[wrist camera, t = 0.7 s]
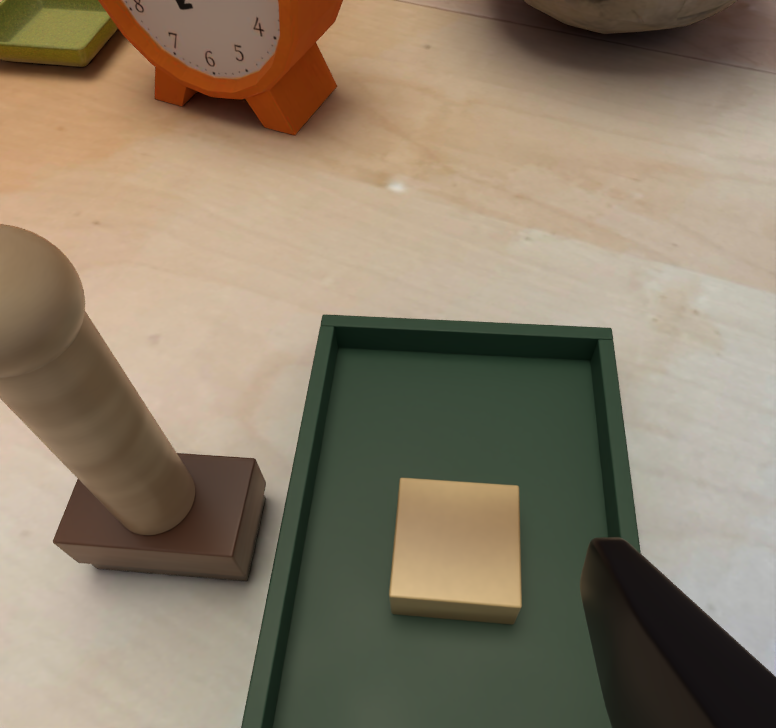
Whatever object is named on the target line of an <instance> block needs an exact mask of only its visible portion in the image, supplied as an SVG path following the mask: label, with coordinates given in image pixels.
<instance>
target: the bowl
mask: <svg viewBox="0 0 776 728" xmlns="http://www.w3.org/2000/svg"><path fill="white" fill-rule="evenodd" d="M524 1H525V2H526V3H527V4H529V5H530V6H532V7H534V8H536V9H538V10H539V11H541V12H543V13H545V14H547V15H549V16H551V17H553V18H555V19H557V20H559V21H560V22H562V23H564V24H567V25H570V26H574V27H578V28H582V29H586V30H590V31H594V32H598V33H602V34H612V33H626V32H641V31H651V30H661V29H671V28H677V27H683V26H688V25H690V24H693V23H696V22H698V21H701V20H703V19H706V18H708V17H711V16H712V15H714V14H716V13H718V12H720V11H722V10H724V9H726V8H728V7H729V6H730V5H732V4H733V3H734V2H736V1H737V0H524Z"/></svg>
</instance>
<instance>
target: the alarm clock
mask: <svg viewBox="0 0 776 728" xmlns="http://www.w3.org/2000/svg"><path fill="white" fill-rule="evenodd" d="M98 1H99V2H100V4H101V5H102V6H103V8H104V9H105V11H106V12H107V13H108V15H109V16H110V18H111V19H112V20H113V22H114V23H115V24H116V26H117V27H118V29H119V30H120V31H121V33H122V34H123V36H124V37H125V38H126V39H127V40H128V41H129V42H130V43H131V44H132V45H133V46H134V47H135V48H136V49H137V50H138V51H139V52H140V53H141V54H142V55H143V56H144V57H145V58H146V59H147V60H148V61H149V62H150V63H151V64H152V65H154V66H155V67H156V68H155V99H157V100H161V101H164V102H168V103H172V104H176V105H179V106H183V105H184V104H185V103H186V102H187V101H188V100H189V99H190V98H191V97H192V96H193V95H195V94H196V93H197V92H200V93H203V94H205V95H208V96H210V97H216V98H228V99H246V101H247V102H248V104H249V105H250V107H251V108H252V110H253V111H254V113H255V114H256V116H257V117H258V119H259V120H260V122H261V123H262V125H263V126H264V127H265V128H269V129H273V130H276V131H280V132H284V133H288V134H292V135H296V133H297V132H298V131H299V130H300V129H301V128H302V126H303V125H304V124H305V123H306V122H307V121H308V119H309V118H310V117H311V116H312V115H313V114H314V112H315V111H316V110H317V109H318V108H319V107H320V105H321V104H322V103H323V102H324V101H325V100H326V99H327V97H328V96H329V95H330V94H331V93H332V92H333V90H334V89H335V88H336V87H337V85H336V83H335V81H334V79H333V77H332V75H331V72H330V70H329V68H328V66H327V64H326V62H325V60H324V58H323V56H322V54H321V52H320V50H319V48H318V46H317V44H316V41H317V40H318V39H319V38H320V37H321V36H322V35H323V34H324V33H325V32H326V31H327V30H328V28H329V27H330V26H331V25H332V24H333V23H334V22H335V20H336V17H337V15H338V12H339V9H340V7H341V4H342V1H343V0H98Z"/></svg>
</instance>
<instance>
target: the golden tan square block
mask: <svg viewBox="0 0 776 728" xmlns="http://www.w3.org/2000/svg"><path fill="white" fill-rule="evenodd" d="M389 599H390V606H391V612H392V614H397V615H409V616H420V617H432V618H443V619H455V620H466V621H478V622H489V623H501V624H514V623H515V621H516V618H517V616H518V614H519V611H520V609H521V607H522V594H521V549H520V503H519V486H516V485H502V484H487V483H472V482H458V481H443V480H429V479H414V478H400V481H399V492H398V503H397V513H396V524H395V535H394V546H393V557H392V568H391V578H390V589H389Z"/></svg>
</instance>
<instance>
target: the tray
mask: <svg viewBox="0 0 776 728" xmlns="http://www.w3.org/2000/svg"><path fill="white" fill-rule="evenodd" d="M400 478H414V479H429V480H443V481H458V482H472V483H487V484H502V485H516V486H519V503H520V549H521V594H522V607H521V609H520V611H519V614H518V616H517V618H516V621H515V623H514V624H501V623H489V622H478V621H466V620H455V619H443V618H432V617H420V616H409V615H397V614H392V612H391V606H390V599H389V589H390V578H391V568H392V557H393V546H394V535H395V524H396V513H397V503H398V492H399V481H400ZM602 537H620V538H622V539H624V540H626V541H627V542H628V543H629V544H631V545H632V546H633V547H634V548H635V549H636V550H637V551H638V552H639V553H640V545H639V537H638V529H637V522H636V514H635V506H634V498H633V491H632V483H631V475H630V467H629V460H628V452H627V444H626V436H625V429H624V421H623V413H622V405H621V398H620V390H619V382H618V374H617V367H616V359H615V351H614V343H613V335H612V329H611V328H600V327H578V326H557V325H536V324H514V323H493V322H472V321H450V320H429V319H407V318H386V317H365V316H343V315H323V316H322V320H321V327H320V330H319V335H318V341H317V346H316V351H315V356H314V361H313V366H312V371H311V376H310V381H309V386H308V391H307V396H306V401H305V407H304V412H303V417H302V422H301V427H300V432H299V437H298V442H297V447H296V452H295V457H294V462H293V467H292V473H291V478H290V483H289V488H288V493H287V498H286V503H285V508H284V513H283V518H282V523H281V528H280V533H279V539H278V544H277V549H276V554H275V559H274V564H273V569H272V574H271V579H270V584H269V589H268V594H267V599H266V605H265V610H264V615H263V620H262V625H261V630H260V635H259V640H258V645H257V650H256V655H255V660H254V665H253V671H252V676H251V681H250V686H249V691H248V696H247V701H246V706H245V711H244V716H243V721H242V726H241V728H612V726H611V723H610V720H609V716H608V713H607V710H606V706H605V702H604V698H603V694H602V690H601V685H600V681H599V676H598V672H597V667H596V662H595V658H594V653H593V649H592V644H591V639H590V635H589V630H588V626H587V621H586V616H585V612H584V607H583V603H582V598H581V592H580V578H581V574H582V570H583V566H584V562H585V558H586V554H587V550H588V546H589V543H590V541H591V540H592V539H594V538H602ZM640 554H641V553H640Z"/></svg>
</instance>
